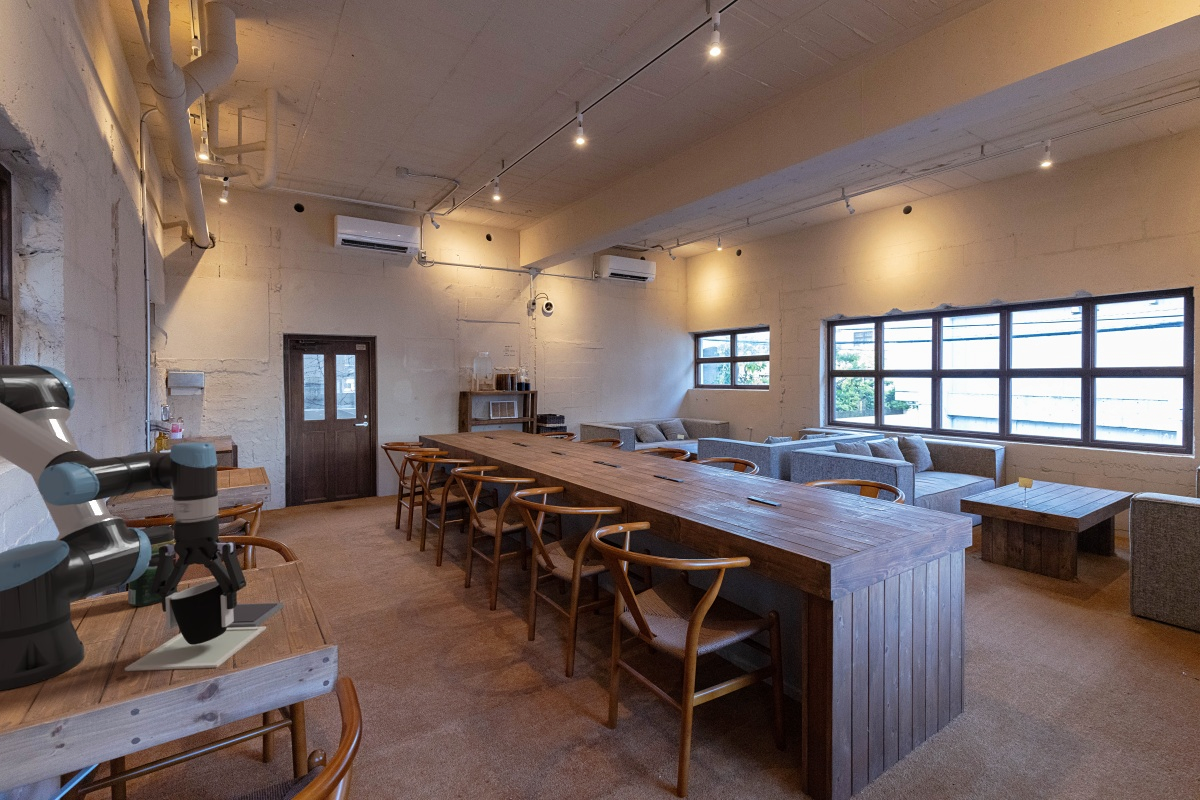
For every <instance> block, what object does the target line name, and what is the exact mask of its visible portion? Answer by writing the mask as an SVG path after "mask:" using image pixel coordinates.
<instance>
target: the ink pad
mask: <svg viewBox="0 0 1200 800" xmlns="http://www.w3.org/2000/svg"><path fill="white" fill-rule="evenodd" d="M284 606H285V603H284V602H263V603H261V602H260V603H259V602H258V603H257V602H255V603H237V605H236V607H234V608H233V615H234V622H232V623H231V624H229V625H228V626H227V628H234V627H260V626H261V625H262V624H263V623H264V622H266V621H267V620H269V619H270V618H271V617H272V616H274V615H275V614H276V613H277V612H279V611H280V610H281V609H282V608H284Z"/></svg>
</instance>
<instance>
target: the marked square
mask: <svg viewBox="0 0 1200 800" xmlns="http://www.w3.org/2000/svg"><path fill="white" fill-rule="evenodd" d="M266 629H267V626H265V625H263V626H258V627H234V628H227V629H226V631H225V632H224V633H223V634H222V635H220V636H218V637H216V638H214V639H212V640H209V641H207V642H204V643H200V644H195V645H191V644H189V643H188V642H187V641H186V640H185V639H184V637H183V635H182V633H181V632H180V633H178V634H176V635H175V636H173V637H172V638H170V639H169V640H167V641H165V642H164V643H163V644H160V645H159V646H158V647H156V648H155V649H152V650H151V651H150V652H148V653H146V654H145V655H144V656H141V657H140V658H138V659H137V660H136V661H135V662H132V663H131V664H129V665H128V666H126V667H124V671H125V672H132V671H156V670H157V671H159V670H161V671H162V670H163V671H164V670H184V669H185V670H186V669H187V670H188V669H189V670H190V669H213V668H219V667H220V666H222V665H223V664H224V663H225V662H226V661H228V660H229V659H230V658H231V657H232V656H234V655H235V654H236V653H237V652H238V651H240V650H242V649H243V647H245V646H246V645H248V643H250V642H251V641H252V640H254V639H255V638H256V637H258V636H259V635H260V634H261V633H263V632H264V631H265V630H266Z"/></svg>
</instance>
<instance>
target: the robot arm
mask: <svg viewBox="0 0 1200 800" xmlns="http://www.w3.org/2000/svg"><path fill="white" fill-rule="evenodd" d="M74 396H76V391H75V388H74V384H73V383H72V381H71V380H70V378H69V377H68V375H66V374H65V373H63V371H60V370H59V369H57V368H55V367H51V366H47V365H35V364H21V365H20V364H19V365H18V364H15V365H14V364H0V457H2V458H3V459H5V460H7V461H8V462H10V463H11V464H13V465H15V466H16V467H18V468H20V469H21V470H23V471H25V472H27V473H28V474H29V475H31V477H32V479H33V481H34V483H35V485H36V488H37V489H38V491H39V492H38V493H39V494H40V496H41V498H42V500H43V502H44V504H45V506H46V509H47V510H48V512H49V514H50V516H51V518H52V521H53V523H54V524H55V527H56V529H57V531H58V536H57V537H56V539H53V540H43V541H38V542H35V543H30V544H24V545H20V546H17V547H13V548H10V549H8V550H5V551H2V552H0V691H4V690H11V689H15V688H21V687H25V686H28V685H32V684H35V683H38V682H41V681H45V680H48V679H50V678H53V677H56V676H58V675H60V674H62V673H63V674H64V673H65V672H67V671H69V670H71V669H72V668H75V667H76V666H77V665H79V664H80V663H81V662H82V661H83V660H84V658H85V645H84V643H83V642H82V641H81V640H80V639H79V635H78V633H77V630H76V628H75V627H74V624H73V622H72V618H71V603H73V602H74V603H75V602H77V601H79V600H83V599H86V598H88V597H92V596H94V595H98V594H101V593H103V592H106V591H109V590H113V589H118V588H121V587H122V586H124V585H126V584H129V582H131V581H134V580H136V579H137V578H139V577H140V576H141V575H142V574H143V573H144V572H145V571H146V569H147V567H148V565H149V560H150V559H151V544H150V541H149V538H148V537H147V535H146V534H145V533H144V532H143V531H140V530H139V529H140V528H136V527H127V524H126V522H125V520H124V519H123V518H122V517H121V516H116V515H112V514H111V513H110V511H109V509H108V507H107V505H106V502H105V500H104V499H107V498H112V497H118V496H123V495H128V494H129V495H130V494H134V493H140V492H145V491H150V490H171V491H172V514H173V515H172V516H173V520H176V521H174V523H173V535H174V539H175V542H174V544H171V543H170V544H167V545H164V546H162V547H160V548H159V562H158V566H157V569H156V573H155V577H154V580H153V584H152V588H151V593H152V594H159V595H160V596H161V597H162V601H161V604H162V605H161V606H162V608H161V609H162V612H163V613H165V617H166V618H165V622H166V630H172V629H173V628H175V627H176V626H177V627H178V624H177V622H176V619H175V616H174V613H173V610H172V607H171V603H170V597H171V596H173V595H174V594H176V593H173V592H174V591H176V590H175V589H176V587H177V588H178V585H179V584H180V582H181V580H182V578H183V577H184V574H185V573H186V571H187V569H188V568H189V566H190V565H191V566H192V565H203V567H204V568H206V569H208V570H209V572H210V573H211V575H212V576H213V578H214V579H215V581H217V582H218V584H219V585H220V587H221V588H222V590H223V591H224V594H223V595H221V617H222V627H226V626H228V625H229V624H231V623H232V622H234V615H233V608H234V607H236V605H237V604H238V600H237V598H238V596H237V593H238V592H239V591H240V590H241V589H243V588H245V587H246V586H247V580H246V578H245V575H244V573H243V571H242V570H243V569H242V566H241V564H240V561H239V559H238V556H237V554H236V553H237V552H236V545H237V544H236V542H235V541H230V542H221V541H220V539H219V535H220V520H219V519H220V518H219V516H217V515H218V514H219V512H220V511H219V509H220V508H219V493H218V491H219V490H218V459H217V450H216V445H215V444H213V443H212V442H209V441H200V442H199V441H195V442H194V441H192V442H183V443H176V444H173V445H171V447H170V452H159V451H158V452H152V451H142V452H133V453H130V454H127V455H124V456H112V457H105V458H94V457H93V456H91V455H90V454H88V453H86V452H84V451H83V450H80V449H79V448H78V445H77V443H76V441H75V439H74V437H73V435H72V433H71V431H70V429H69V427H68V425H67V421H68V419H69V418H70V417H71V414H72V413H71V411H72V409H73V408H74V406H75V403H76V398H74ZM218 551H219V554H221V556H222V557H221V556H220V555H219V554H218ZM175 553H176V554H177V556H178V558H177V560H176V562H175V564H174V567H173V571H172V573H171V575H170V576H169V572H170V569H171V565H172V562H173V560H174V558H175ZM222 560H223V562H222ZM168 576H169V578H168Z"/></svg>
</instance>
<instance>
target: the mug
mask: <svg viewBox="0 0 1200 800" xmlns="http://www.w3.org/2000/svg"><path fill="white" fill-rule="evenodd" d="M223 594H224V591H223V590H222V588H221V587H220V585H219V584H218V582H217V581H216V580H212V581H209V582H205V583H201V584H198V585H194V586H192V587H189V588H188V587H187V588H186V589H182V590H181V591H179V592H178V591H177V593H176V594H174V595H173V596H171V597H170V603H171V607H172V610H173V613H174V616H175V619H176V622H177V624H178V625H177V627H178V629H179V631H180V633H182V635H183V637H184V639H185V640H186V641H187V642H188V643H189V644H191V645H195V644H200V643H204V642H207V641H209V640H212V639H214V638H216V637H218V636H220V635H222V634H223V633H224V632H225V631H226V629H227V626H226V627H222V617H221V595H223Z"/></svg>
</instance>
